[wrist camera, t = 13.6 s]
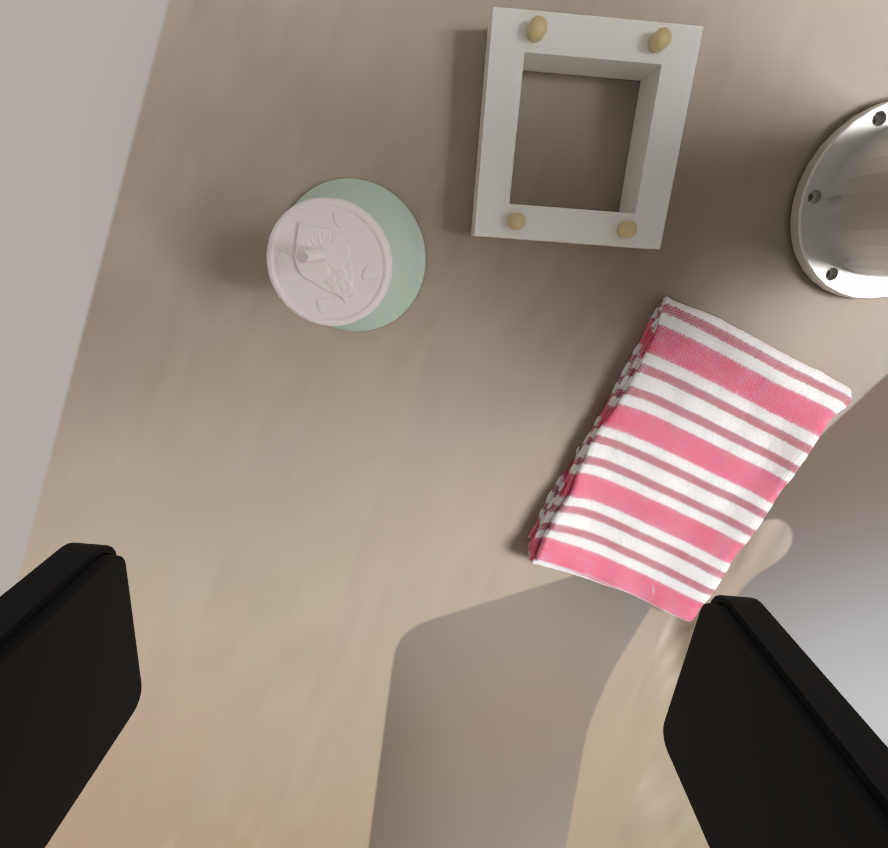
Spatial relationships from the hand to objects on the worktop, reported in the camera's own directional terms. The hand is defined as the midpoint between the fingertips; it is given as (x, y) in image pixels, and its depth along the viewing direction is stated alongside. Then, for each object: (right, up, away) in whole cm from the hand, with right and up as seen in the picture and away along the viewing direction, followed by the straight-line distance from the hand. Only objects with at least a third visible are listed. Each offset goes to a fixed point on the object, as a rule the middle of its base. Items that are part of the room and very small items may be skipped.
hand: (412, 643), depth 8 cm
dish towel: (+19, 0, +34) cm, 39 cm away
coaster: (-6, +15, +27) cm, 32 cm away
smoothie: (-6, +15, +27) cm, 32 cm away
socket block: (+9, +22, +25) cm, 35 cm away
